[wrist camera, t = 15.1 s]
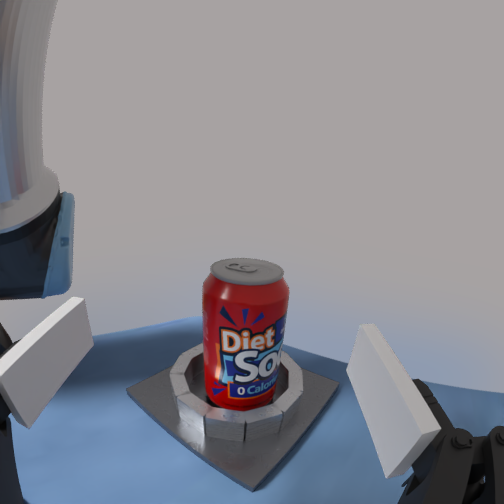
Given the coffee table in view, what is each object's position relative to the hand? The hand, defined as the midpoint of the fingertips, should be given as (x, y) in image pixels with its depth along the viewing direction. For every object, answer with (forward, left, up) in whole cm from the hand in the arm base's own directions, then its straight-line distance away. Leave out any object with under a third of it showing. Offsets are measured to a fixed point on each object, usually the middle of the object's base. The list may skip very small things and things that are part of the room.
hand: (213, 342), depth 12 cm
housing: (-7, +11, -17) cm, 21 cm away
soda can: (-7, +11, -16) cm, 21 cm away
